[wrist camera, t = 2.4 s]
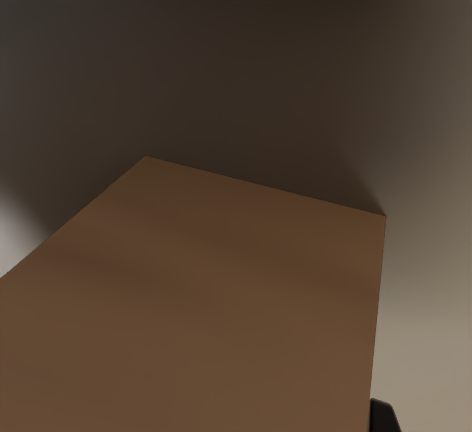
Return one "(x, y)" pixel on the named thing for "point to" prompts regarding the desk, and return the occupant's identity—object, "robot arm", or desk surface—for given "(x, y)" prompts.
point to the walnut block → (193, 311)
